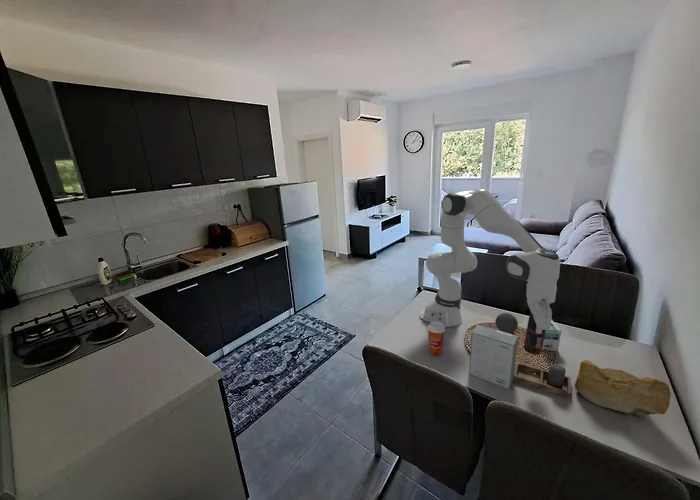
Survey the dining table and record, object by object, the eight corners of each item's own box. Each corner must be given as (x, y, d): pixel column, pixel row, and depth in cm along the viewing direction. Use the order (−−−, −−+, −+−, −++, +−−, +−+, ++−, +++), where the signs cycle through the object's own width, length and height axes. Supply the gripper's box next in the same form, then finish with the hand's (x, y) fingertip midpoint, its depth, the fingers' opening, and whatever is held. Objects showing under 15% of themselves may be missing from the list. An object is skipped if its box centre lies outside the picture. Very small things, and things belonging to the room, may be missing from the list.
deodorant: (531, 343, 117) (538, 310, 112) (545, 352, 112) (552, 318, 107) (519, 346, 115) (525, 313, 111) (532, 356, 110) (539, 320, 105)
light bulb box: (558, 351, 132) (562, 330, 129) (541, 350, 133) (545, 329, 130) (548, 337, 142) (551, 317, 139) (532, 336, 143) (535, 317, 140)
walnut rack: (513, 381, 116) (513, 375, 115) (515, 367, 124) (516, 361, 123) (569, 400, 106) (570, 393, 105) (568, 383, 114) (570, 377, 113)
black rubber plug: (546, 387, 112) (549, 370, 109) (546, 379, 116) (549, 362, 113) (562, 392, 109) (565, 374, 107) (562, 383, 113) (565, 366, 111)
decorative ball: (498, 324, 155) (500, 307, 152) (519, 330, 148) (521, 313, 145) (491, 332, 149) (493, 314, 146) (512, 339, 142) (515, 321, 139)
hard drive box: (514, 379, 118) (519, 336, 112) (509, 390, 112) (515, 346, 106) (474, 363, 127) (477, 323, 121) (467, 373, 122) (471, 332, 116)
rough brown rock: (662, 406, 103) (671, 368, 99) (663, 434, 91) (674, 392, 88) (579, 376, 119) (585, 343, 116) (571, 398, 107) (577, 361, 104)
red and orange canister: (423, 352, 136) (424, 326, 132) (431, 344, 142) (432, 319, 137) (439, 359, 131) (440, 332, 127) (447, 351, 136) (448, 324, 132)
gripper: (559, 308, 96) (553, 344, 100) (544, 283, 114) (539, 315, 118) (537, 306, 98) (532, 341, 102) (525, 282, 117) (521, 313, 121)
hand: (536, 327), depth 110 cm, fingers closed on deodorant, 6 cm apart
